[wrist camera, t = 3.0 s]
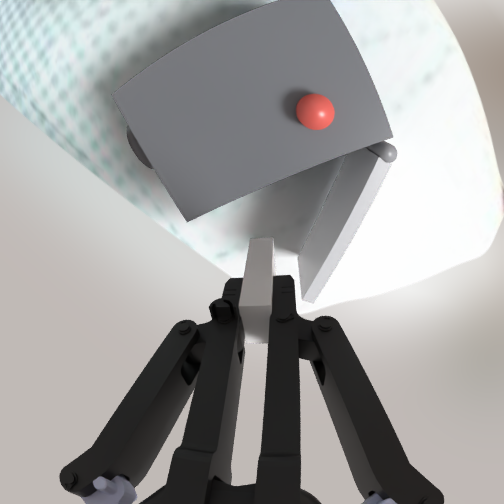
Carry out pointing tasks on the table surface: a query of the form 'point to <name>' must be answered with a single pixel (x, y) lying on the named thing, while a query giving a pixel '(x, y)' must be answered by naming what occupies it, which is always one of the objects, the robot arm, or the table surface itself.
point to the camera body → (252, 104)
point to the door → (342, 215)
